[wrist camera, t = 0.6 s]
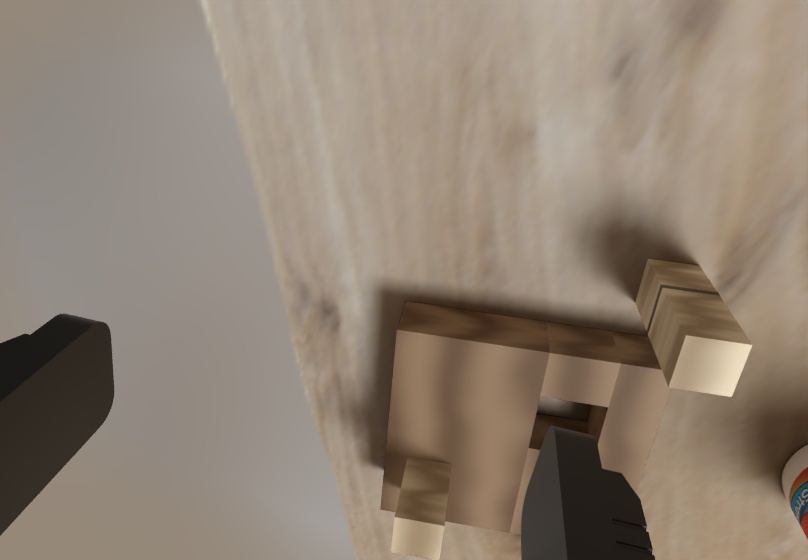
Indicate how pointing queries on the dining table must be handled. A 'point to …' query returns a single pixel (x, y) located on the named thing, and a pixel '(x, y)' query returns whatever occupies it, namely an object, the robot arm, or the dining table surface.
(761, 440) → the dining table surface
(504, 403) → the seat board
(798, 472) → the fruit juice
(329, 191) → the dining table surface
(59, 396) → the robot arm
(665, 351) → the peg
